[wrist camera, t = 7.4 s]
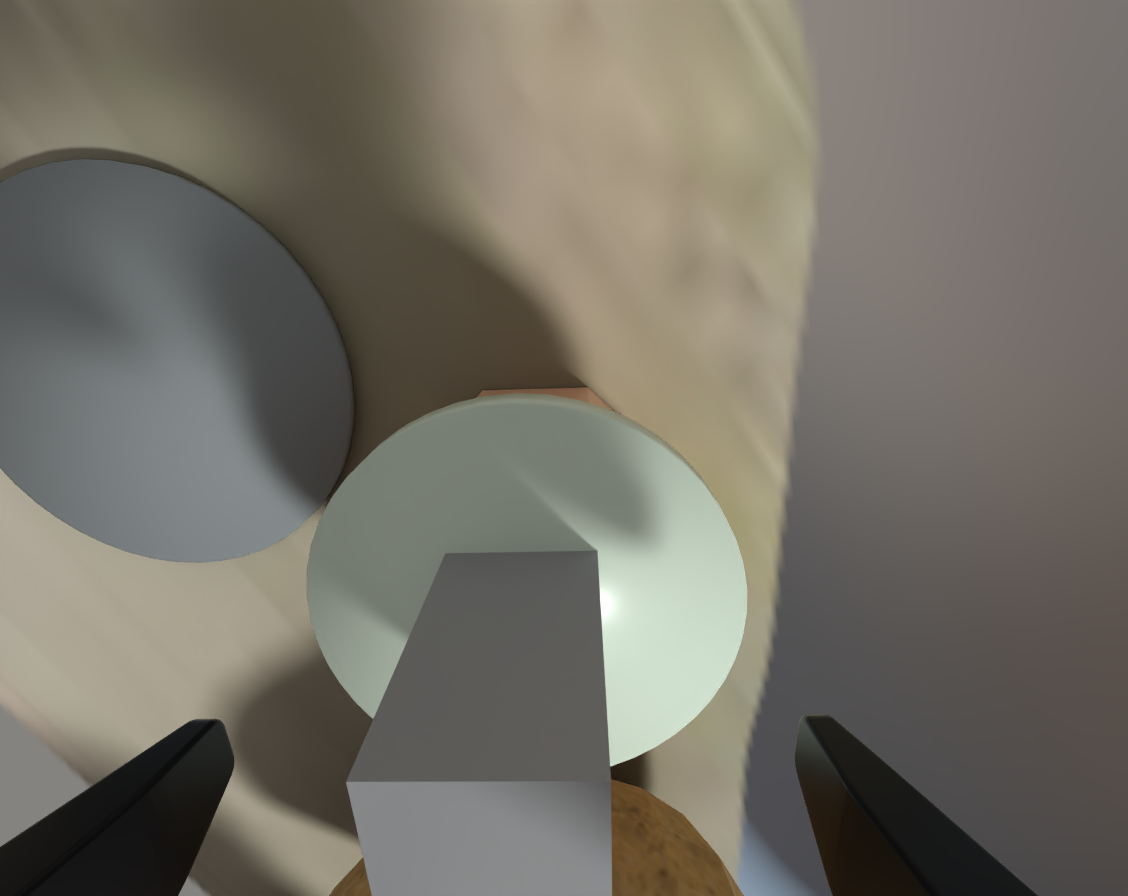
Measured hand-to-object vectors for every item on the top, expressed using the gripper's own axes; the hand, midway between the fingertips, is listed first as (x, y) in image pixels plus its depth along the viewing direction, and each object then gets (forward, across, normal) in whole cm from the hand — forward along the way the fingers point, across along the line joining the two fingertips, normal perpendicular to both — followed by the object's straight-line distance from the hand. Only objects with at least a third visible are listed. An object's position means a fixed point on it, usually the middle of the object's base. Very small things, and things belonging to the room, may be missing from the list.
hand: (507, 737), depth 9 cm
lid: (+4, 0, 0) cm, 4 cm away
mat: (+8, +10, -4) cm, 14 cm away
